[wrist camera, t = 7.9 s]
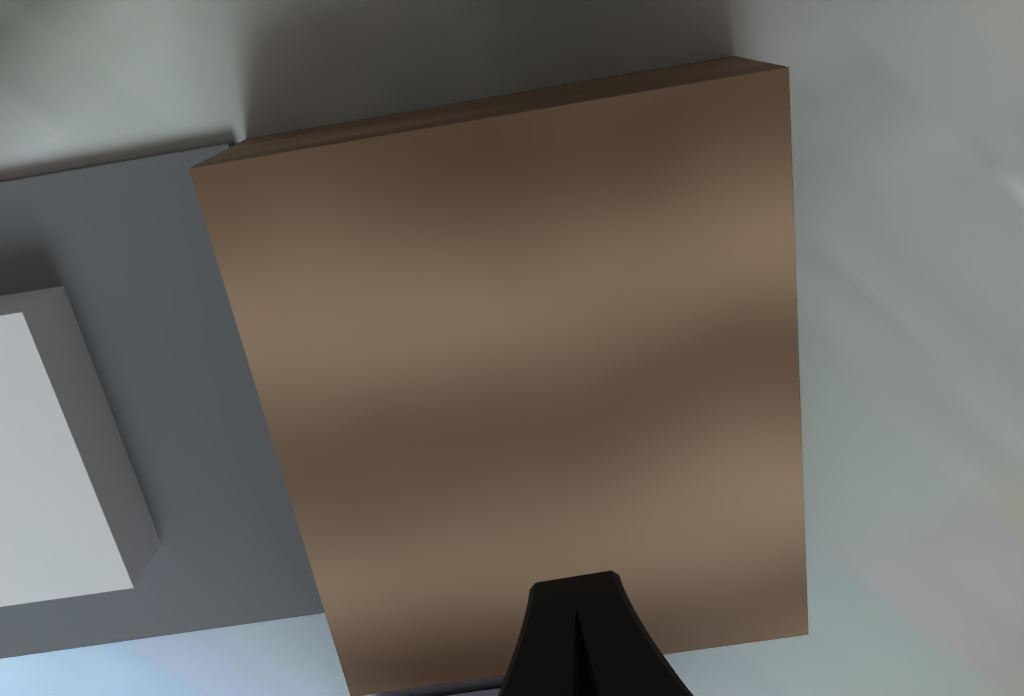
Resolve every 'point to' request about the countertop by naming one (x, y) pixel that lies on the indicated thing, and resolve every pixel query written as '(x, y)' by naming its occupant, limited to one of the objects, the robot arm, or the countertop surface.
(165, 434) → the mat
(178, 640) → the countertop surface
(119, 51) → the countertop surface
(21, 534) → the tile
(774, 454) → the flat brown box
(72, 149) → the countertop surface
